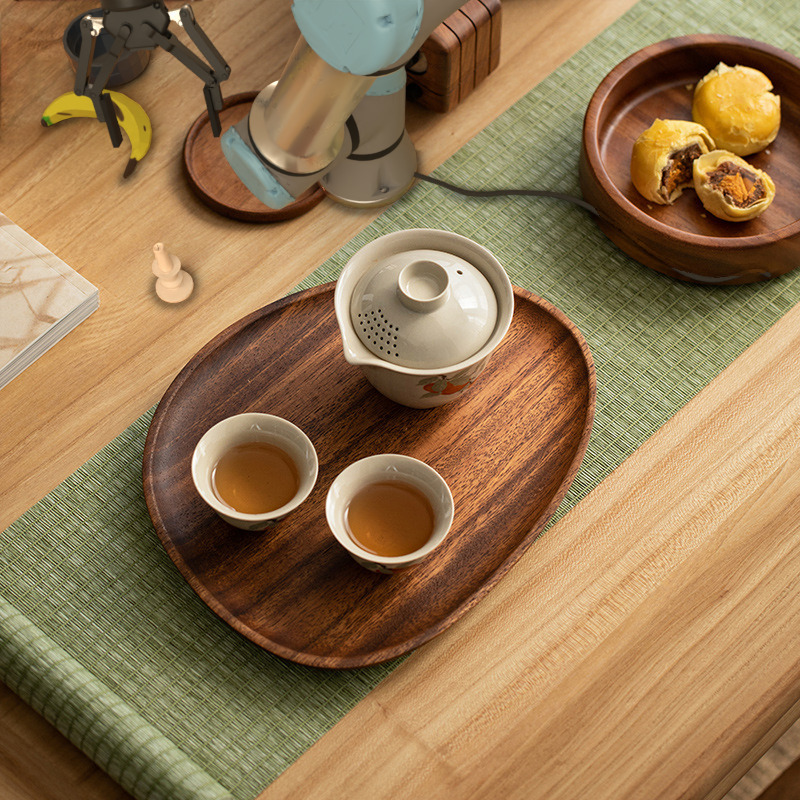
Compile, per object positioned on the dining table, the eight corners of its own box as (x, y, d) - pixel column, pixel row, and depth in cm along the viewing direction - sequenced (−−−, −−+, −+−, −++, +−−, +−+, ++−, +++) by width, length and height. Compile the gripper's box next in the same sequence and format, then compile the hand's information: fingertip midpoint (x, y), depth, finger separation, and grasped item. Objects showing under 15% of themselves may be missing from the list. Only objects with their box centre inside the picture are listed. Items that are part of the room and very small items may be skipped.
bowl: (163, 42, 147) (156, 17, 143) (130, 98, 142) (121, 74, 138) (94, 24, 149) (85, -2, 144) (59, 78, 144) (48, 54, 139)
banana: (39, 81, 138) (25, 170, 134) (151, 79, 137) (141, 169, 133) (52, 99, 143) (39, 186, 139) (161, 97, 141) (151, 185, 137)
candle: (152, 300, 127) (132, 259, 118) (161, 269, 129) (142, 225, 120) (189, 305, 127) (172, 263, 118) (197, 273, 129) (181, 230, 120)
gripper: (229, -49, 114) (262, 118, 127) (31, -27, 115) (84, 137, 128) (221, -34, 108) (256, 140, 121) (13, -11, 109) (70, 159, 122)
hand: (168, 139), depth 124 cm, fingers open, 13 cm apart
